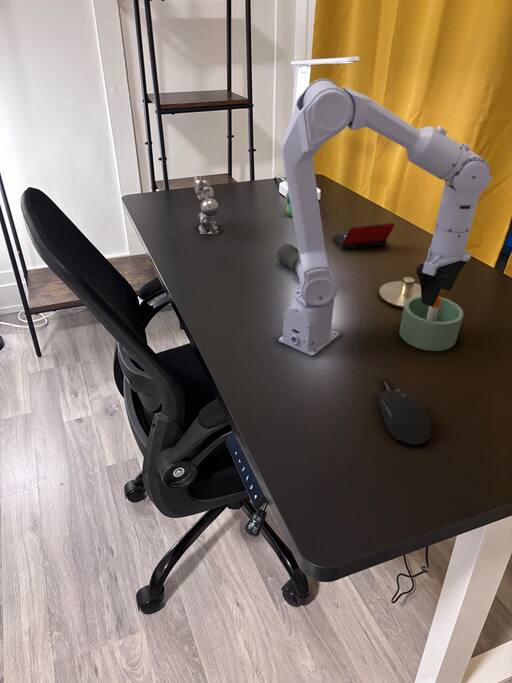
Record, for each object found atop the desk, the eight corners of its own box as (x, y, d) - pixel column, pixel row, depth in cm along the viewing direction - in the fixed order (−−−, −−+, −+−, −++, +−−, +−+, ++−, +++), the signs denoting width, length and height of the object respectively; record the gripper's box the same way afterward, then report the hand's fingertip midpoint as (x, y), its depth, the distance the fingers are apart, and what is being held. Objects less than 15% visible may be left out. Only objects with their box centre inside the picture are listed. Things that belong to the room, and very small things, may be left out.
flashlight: (274, 264, 124) (274, 243, 121) (293, 260, 126) (294, 239, 123) (305, 290, 112) (306, 268, 109) (325, 286, 114) (327, 264, 111)
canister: (442, 358, 92) (449, 330, 88) (389, 337, 97) (394, 310, 94) (464, 333, 98) (471, 307, 95) (413, 315, 104) (419, 289, 101)
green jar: (282, 213, 152) (283, 187, 148) (295, 211, 154) (296, 185, 150) (289, 218, 149) (290, 191, 145) (303, 216, 151) (304, 189, 146)
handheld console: (373, 234, 139) (377, 208, 135) (391, 250, 131) (396, 223, 127) (331, 239, 137) (333, 212, 133) (347, 255, 128) (350, 227, 124)
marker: (430, 336, 96) (439, 300, 92) (421, 333, 97) (429, 297, 93) (434, 332, 98) (443, 296, 93) (425, 329, 99) (433, 293, 94)
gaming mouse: (402, 382, 86) (406, 363, 84) (436, 445, 74) (442, 426, 71) (366, 384, 85) (369, 366, 83) (395, 449, 73) (399, 429, 71)
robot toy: (223, 241, 135) (221, 186, 127) (200, 243, 134) (197, 187, 126) (215, 221, 147) (213, 169, 139) (194, 223, 146) (191, 171, 137)
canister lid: (418, 317, 103) (423, 298, 101) (368, 299, 109) (371, 281, 107) (441, 296, 111) (446, 278, 108) (393, 280, 117) (396, 262, 114)
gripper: (459, 245, 79) (441, 319, 86) (491, 219, 88) (472, 288, 95) (417, 234, 82) (403, 305, 90) (452, 210, 91) (436, 277, 99)
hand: (436, 296), depth 93 cm, fingers open, 7 cm apart
